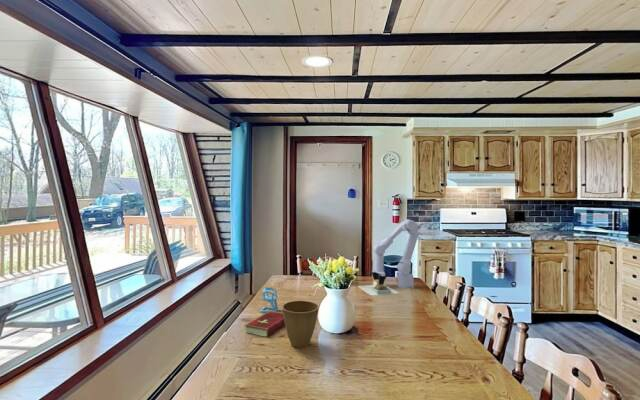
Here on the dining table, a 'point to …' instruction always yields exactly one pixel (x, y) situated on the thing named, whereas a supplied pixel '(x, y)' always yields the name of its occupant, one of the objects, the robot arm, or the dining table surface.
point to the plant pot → (300, 321)
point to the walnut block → (380, 287)
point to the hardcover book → (266, 324)
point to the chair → (270, 300)
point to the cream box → (376, 282)
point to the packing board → (372, 291)
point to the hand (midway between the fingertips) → (378, 284)
